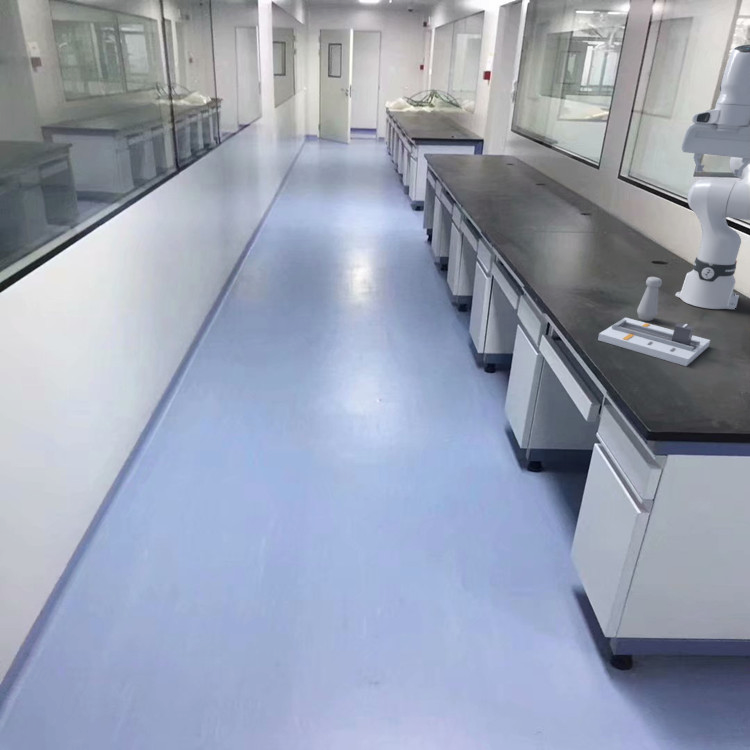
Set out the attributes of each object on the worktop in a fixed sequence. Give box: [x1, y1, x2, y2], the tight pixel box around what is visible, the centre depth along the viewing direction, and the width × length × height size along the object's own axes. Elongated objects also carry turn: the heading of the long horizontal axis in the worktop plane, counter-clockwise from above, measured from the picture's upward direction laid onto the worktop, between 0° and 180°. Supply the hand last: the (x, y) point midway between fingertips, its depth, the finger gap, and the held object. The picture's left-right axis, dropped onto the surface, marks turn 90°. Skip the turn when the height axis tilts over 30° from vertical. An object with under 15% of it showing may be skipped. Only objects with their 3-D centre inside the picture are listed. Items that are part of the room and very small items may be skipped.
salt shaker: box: [636, 276, 663, 322], centre depth 188 cm, size 6×6×13 cm
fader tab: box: [672, 322, 695, 345], centre depth 167 cm, size 3×4×5 cm
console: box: [597, 317, 711, 367], centre depth 173 cm, size 18×24×4 cm
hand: (717, 174), depth 162 cm, fingers open, 8 cm apart
